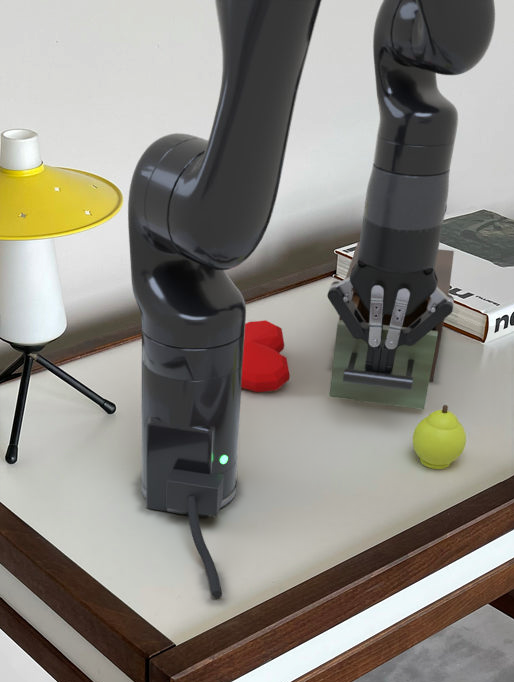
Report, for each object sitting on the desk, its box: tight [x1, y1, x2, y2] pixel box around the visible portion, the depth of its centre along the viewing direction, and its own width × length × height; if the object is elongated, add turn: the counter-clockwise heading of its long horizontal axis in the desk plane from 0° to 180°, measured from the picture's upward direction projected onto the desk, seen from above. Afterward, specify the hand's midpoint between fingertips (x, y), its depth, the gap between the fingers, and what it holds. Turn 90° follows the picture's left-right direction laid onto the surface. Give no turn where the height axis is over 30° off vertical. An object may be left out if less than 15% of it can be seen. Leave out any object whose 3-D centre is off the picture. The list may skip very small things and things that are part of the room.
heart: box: [241, 319, 291, 393], centre depth 119 cm, size 12×4×10 cm
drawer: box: [328, 293, 438, 410], centre depth 113 cm, size 19×10×9 cm, turn 163°
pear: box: [412, 404, 467, 470], centre depth 102 cm, size 5×5×6 cm
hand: (377, 376), depth 107 cm, fingers closed
